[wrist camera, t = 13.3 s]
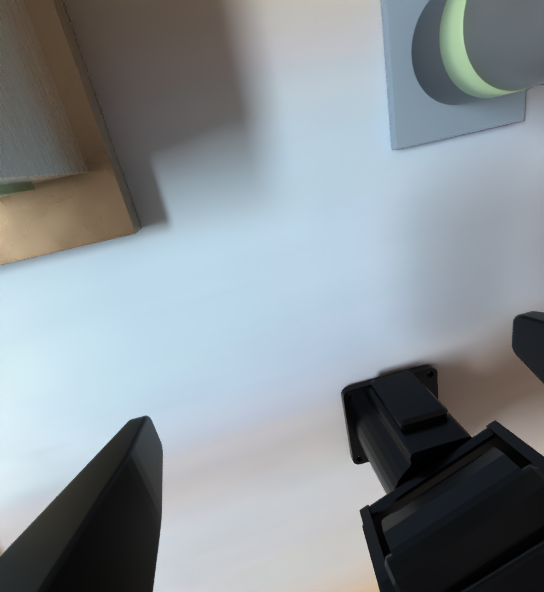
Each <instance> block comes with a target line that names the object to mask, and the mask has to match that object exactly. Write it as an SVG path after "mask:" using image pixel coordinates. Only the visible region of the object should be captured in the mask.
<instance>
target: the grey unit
mask: <svg viewBox="0 0 544 592" xmlns="http://www.w3.org/2000/svg"><path fill="white" fill-rule="evenodd" d="M140 229H141V225H140V223H139V220H138V217H137V214H136V211H135V208H134V205H133V202H132V199H131V196H130V194H129V191H128V188H127V185H126V182H125V179H124V176H123V173H122V170H121V168H120V165H119V162H118V159H117V156H116V153H115V150H114V147H113V144H112V142H111V139H110V136H109V133H108V130H107V127H106V124H105V121H104V118H103V116H102V113H101V110H100V107H99V104H98V101H97V98H96V95H95V92H94V90H93V87H92V84H91V81H90V78H89V75H88V72H87V69H86V66H85V64H84V61H83V58H82V55H81V52H80V49H79V46H78V43H77V40H76V38H75V35H74V32H73V29H72V26H71V23H70V20H69V17H68V14H67V12H66V9H65V6H64V3H63V0H0V265H2V264H6V263H10V262H15V261H19V260H23V259H28V258H32V257H36V256H40V255H45V254H49V253H53V252H58V251H62V250H66V249H71V248H75V247H79V246H83V245H88V244H92V243H96V242H101V241H105V240H109V239H114V238H118V237H122V236H127V235H131V234H135V233H136V232H138V231H139V230H140Z"/></svg>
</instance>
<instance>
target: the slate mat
mask: <svg viewBox="0 0 544 592" xmlns="http://www.w3.org/2000/svg"><path fill="white" fill-rule="evenodd" d="M429 1H430V0H381V8H382V22H383V36H384V50H385V64H386V78H387V92H388V106H389V120H390V134H391V148H392V150H395V149H401V148H405V147H410V146H414V145H419V144H423V143H427V142H432V141H436V140H441V139H445V138H449V137H454V136H458V135H462V134H467V133H471V132H476V131H480V130H484V129H489V128H493V127H498V126H502V125H506V124H511V123H515V122H520V121H524V113H525V96H526V90H523V91H519V92H515V93H510V94H506V95H502V96H498V97H493V98H484V99H480V100H476V101H472V102H467V103H463V104H459V105H447V104H443V103H440V102H438V101H435V100H434V99H432V98H431V97H430V96H428V95H427V94H426V93H425V92H424V90H423V89H422V88H421V86H420V84H419V83H418V81H417V78H416V76H415V73H414V70H413V65H412V55H411V49H412V39H413V34H414V30H415V26H416V24H417V21H418V19H419V17H420V14H421V12H422V11H423V9H424V7H425V6H426V4H427V3H428V2H429Z"/></svg>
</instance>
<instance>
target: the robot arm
mask: <svg viewBox="0 0 544 592" xmlns="http://www.w3.org/2000/svg"><path fill="white" fill-rule="evenodd" d="M512 348H513V350H514V352H515V354H516V355H517V356H518V357H519V358H520V359H521V360H522V361H523V362H524V364H525V365H526V366H527V367H528V368H529V369H530V370H531V371H532V372H533V373H534V374H535V375H536V376H537V377H538V378H539V379H540V380H541V381H542V382H543V383H544V312H536V311H531V312H527V313H523V314H520V315H517V316H516V317H515V318H514V320H513V332H512ZM428 372H430V373H429V374H427V373H428ZM350 393H352V394H351V395H350V396H347V395H348V394H350ZM341 397H342V403H343V409H344V416H345V422H346V428H347V434H348V441H349V447H350V453H351V458H352V460H353V462H354V463H355V464H363V463H366V462H370V464H371V466H372V467H373V469H374V471H375V473H376V475H377V477H378V479H379V481H380V483H381V485H382V487H383V488H384V490H385V492H386V494H387V495H385V496H384V497H382V498H381V499H379V500H378V501H376V502H375V503H373V504H372V505H370V506H369V505H367V506H365V507H364V508H362V509H361V510H360V514H361V518H362V521H363V525H362V527H363V531H364V535H365V538H366V542H367V546H368V549H369V553H370V557H371V560H372V564H373V568H374V571H375V575H376V579H377V582H378V586H379V590H380V592H544V456H542V455H541V454H540V453H538V452H537V451H536V450H534V449H533V448H532V447H530V446H529V445H528V444H526V443H525V442H524V441H522V440H521V439H520V438H518V437H517V436H516V435H514V434H513V433H512V432H510V431H509V430H508V429H506V428H505V427H504V426H502V425H501V424H500V423H498V422H497V421H496V420H495V421H493V422H492V423H490V424H489V425H487V426H486V427H487V428H486V429H485V430H483V431H482V432H480V433H479V434H477V435H476V436H474V437H473V438H472V437H471V436H470V435H469V433H468V432H467V431H466V430H465V429H464V428H463V427H462V426H461V425H460V424H459V423H458V422H457V421H456V420H455V419H454V418H453V417H452V415H451V414H450V413H449V412H448V410H447V408H446V407H445V406H444V405H443V404H442V403H441V402H440V401H439V400H438V381H437V370H436V369H435V368H434V367H433V366H431V365H425V366H421V367H417V368H414V369H410V370H407V371H403V372H399V373H396V374H392V375H388V376H385V377H381V378H377V379H374V380H370V381H366V382H363V383H359V384H355V385H352V386H348V387H346V388H344V389H343V390H342V392H341ZM359 456H360V457H359ZM162 470H163V450H162V444H161V441H160V439H159V436H158V434H157V432H156V429H155V427H154V425H153V422H152V420H151V419H150V417H149V416H142V417H138V418H135V419H131V420H129V421H128V422H127V423H126V424H125V425H124V426H123V428H122V429H121V430H120V431H119V432H118V433H117V434H116V435H115V436H114V437H113V438H112V439H111V440H110V441H109V442H108V443H107V444H106V445H105V446H104V448H103V449H102V450H101V451H100V452H99V453H98V454H97V455H96V456H95V457H94V458H93V459H92V460H91V461H90V462H89V463H88V464H87V465H86V466H85V468H84V469H83V470H82V471H81V472H80V473H79V474H78V475H77V476H76V477H75V478H74V479H73V480H72V481H71V482H70V483H69V484H68V485H67V487H66V488H65V489H64V490H63V491H62V492H61V493H60V494H59V495H58V496H57V497H56V498H55V499H54V500H53V501H52V502H51V503H50V504H49V505H48V507H47V508H46V509H45V510H44V511H43V512H42V513H41V514H40V515H39V516H38V517H37V518H36V519H35V520H34V521H33V522H32V523H31V524H30V525H29V526H28V528H27V529H26V530H25V531H24V532H23V533H22V534H21V535H20V536H19V537H18V538H17V539H16V540H15V541H14V542H13V543H12V544H11V545H10V546H9V548H8V549H7V550H6V551H5V552H4V553H3V554H2V555H1V556H0V592H153V586H154V578H155V570H156V562H157V554H158V546H159V538H160V529H161V519H162Z"/></svg>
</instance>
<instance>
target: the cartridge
mask: <svg viewBox="0 0 544 592" xmlns="http://www.w3.org/2000/svg"><path fill="white" fill-rule="evenodd" d="M411 55H412V65H413V70H414V73H415V76H416V78H417V81H418V83H419V84H420V86H421V88H422V89H423V90H424V92H425V93H426V94H427V95H428V96H430V97H431V98H432V99H434V100H435V101H438V102H440V103H443V104H447V105H459V104H463V103H467V102H472V101H476V100H480V99H484V98H493V97H498V96H502V95H506V94H510V93H515V92H519V91H523V90H527V89H529V88H532V87H534V86H538V85H542V84H544V0H430V1H429V2H428V3H427V4H426V6H425V7H424V9H423V11H422V12H421V14H420V17H419V19H418V21H417V24H416V26H415V30H414V34H413V39H412V49H411Z"/></svg>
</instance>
